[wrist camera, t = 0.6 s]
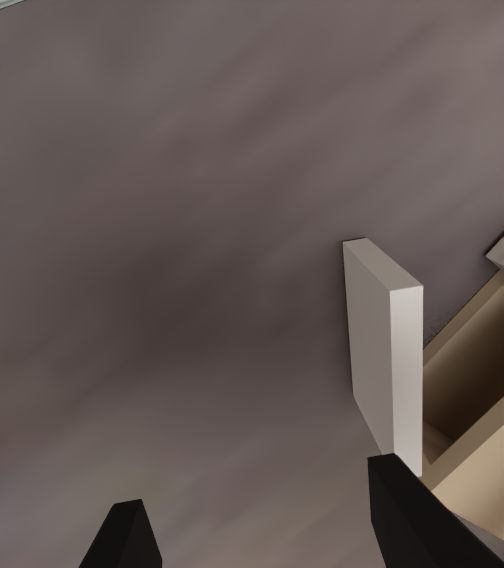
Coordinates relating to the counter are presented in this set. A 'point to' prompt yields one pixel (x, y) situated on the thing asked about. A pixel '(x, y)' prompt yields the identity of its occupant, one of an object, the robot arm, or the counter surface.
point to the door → (386, 348)
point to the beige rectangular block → (468, 408)
